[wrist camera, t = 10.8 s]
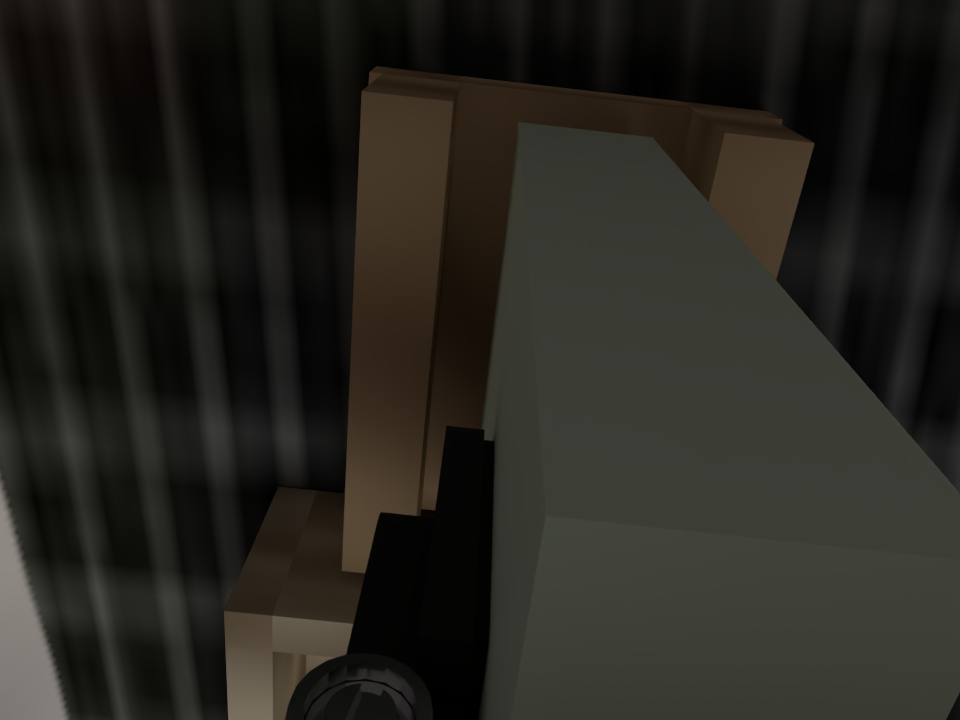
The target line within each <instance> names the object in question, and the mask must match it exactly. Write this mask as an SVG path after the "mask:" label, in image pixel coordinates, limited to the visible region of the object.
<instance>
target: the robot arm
mask: <svg viewBox="0 0 960 720" xmlns="http://www.w3.org/2000/svg"><path fill="white" fill-rule="evenodd" d="M484 434H485V430H484V429H474V428H465V427H456V426H446V433H445V440H444V448H443V455H442V463H441V470H440V478H439V485H438V493H437V500H436V507H435V515H434V518H433V517H423V516H414V515H404V514H395V513H385V512H381V513H380V514H379V518H378V521H377V525H376V529H375V534H374V538H373V542H372V546H371V551H370V555H369V559H368V564H367V568H366V572H365V576H364V581H363V585H362V589H361V593H360V598H359V602H358V606H357V610H356V615H355V619H354V623H353V627H352V632H351V636H350V640H349V644H348V649H347V653H346V655H343V656H339V657H336V658H333V659H330V660H327V661H325V662H324V663H322V664H320V665H319V666H317V667H315V668H314V669H312V670H311V671H309V672H308V673H307V674H306V676H305V677H304V678H303V679H302V680H301V681H300V682H299V683H298V684H297V686H296V687H295V690H294V692H293V694H292V697H291V699H290V701H289V704H288V708H287V712H286V717H285V720H478V716H479V709H480V702H481V696H482V689H483V682H484V676H485V669H486V661H487V652H488V642H489V628H490V596H491V560H492V524H493V488H494V451H495V441H490V440H484Z"/></svg>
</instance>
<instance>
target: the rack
mask: <svg viewBox="0 0 960 720" xmlns="http://www.w3.org/2000/svg"><path fill="white" fill-rule="evenodd" d="M344 506H345V493H336V492H326V491H316V490H307V489H297V488H288V487H278V489H277V491H276V493H275V496H274V498H273V500H272V502H271V505H270V507H269V509H268V512H267V514H266V516H265V518H264V521H263V523H262V525H261V528H260V530H259V532H258V534H257V537H256V539H255V541H254V544H253V546H252V548H251V551H250V553H249V555H248V557H247V560H246V562H245V564H244V567H243V569H242V571H241V573H240V576H239V578H238V580H237V583H236V585H235V587H234V589H233V592H232V594H231V596H230V599H229V601H228V603H227V605H226V608H225V610H224V621H225V646H226V671H227V696H228V720H285V717H286V712H287V708H288V704H289V701H290V699H291V697H292V694H293V692H294V690H295V687H296V686H297V684H298V683H299V682H300V681H301V680H302V679H303V678H304V677H305V676H306V674H307V673H308V672H309V671H311V670H312V669H314V668H315V667H317V666H319V665H320V664H322V663H324V662H325V661H327V660H330V659H333V658H336V657H339V656H343V655H346V653H347V649H348V644H349V640H350V636H351V632H352V627H353V623H354V619H355V615H356V610H357V606H358V602H359V598H360V593H361V589H362V585H363V581H364V576H365V573H357V572H347V571H342V554H343V530H344ZM434 515H435V510H426V509H421V515H420V516H423V517H433V518H434Z"/></svg>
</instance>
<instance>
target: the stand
mask: <svg viewBox="0 0 960 720" xmlns="http://www.w3.org/2000/svg"><path fill="white" fill-rule="evenodd" d="M782 121H783V119H781V118H779V117H777V116H775V115H773V114H771V113H770V112H768V111H759V110H750V109H742V108H733V107H724V106H716V105H707V104H699V103H690V102H681V101H673V100H664V99H655V98H647V97H638V96H629V95H621V94H612V93H603V92H595V91H586V90H577V89H569V88H560V87H551V86H543V85H534V84H525V83H517V82H508V81H499V80H491V79H482V78H473V77H465V76H456V75H447V74H439V73H430V72H421V71H413V70H404V69H395V68H387V67H378V66H377V67H375V68H374V69H373V70H371V71H370V72H369V85H368V86H367V87H366V88H365V89H364V90H362V95H361V119H360V143H359V168H358V192H357V216H356V240H355V264H354V288H353V313H352V337H351V361H350V385H349V409H348V434H347V458H346V482H345V506H344V530H343V554H342V571H347V572H357V573H365V572H366V568H367V564H368V559H369V555H370V551H371V546H372V542H373V538H374V534H375V529H376V525H377V521H378V518H379V514H380V513H381V512H385V513H395V514H404V515H414V516H420V515H421V509H426V510H435V507H436V500H437V493H438V485H439V478H440V470H441V463H442V455H443V448H444V440H445V433H446V426H456V427H465V428H474V429H480V427H481V419H482V411H483V403H484V395H485V387H486V379H487V371H488V363H489V355H490V347H491V339H492V331H493V322H494V314H495V306H496V298H497V290H498V282H499V274H500V266H501V258H502V250H503V242H504V234H505V226H506V217H507V209H508V201H509V193H510V185H511V177H512V169H513V161H514V153H515V145H516V137H517V129H518V122H523V123H532V124H540V125H549V126H558V127H566V128H575V129H584V130H592V131H601V132H610V133H619V134H627V135H636V136H645V137H653V139H654V140H655V141H656V142H657V143H658V144H659V146H660V147H661V148H662V149H663V150H664V151H665V152H666V154H667V155H668V156H669V157H670V158H671V159H672V161H673V162H674V163H675V164H676V165H677V166H678V168H679V169H680V170H681V171H682V172H683V173H684V174H685V176H686V177H687V178H688V179H689V180H690V181H691V183H692V184H693V185H694V186H695V187H696V188H697V190H698V191H699V192H700V193H701V194H702V195H703V196H704V198H705V199H706V200H707V201H708V202H709V203H710V205H711V206H712V207H713V208H714V209H715V210H716V212H717V213H718V214H719V215H720V216H721V217H722V218H723V220H724V221H725V222H726V223H727V224H728V225H729V227H730V228H731V229H732V230H733V231H734V232H735V234H736V235H737V236H738V237H739V238H740V239H741V240H742V242H743V243H744V244H745V245H746V246H747V247H748V249H749V250H750V251H751V252H752V253H753V254H754V256H755V257H756V258H757V259H758V260H759V261H760V263H761V264H762V265H763V266H764V267H765V268H766V269H767V271H768V272H769V273H770V274H771V275H772V276H773V278H774V279H775V280H776V279H777V275H778V271H779V268H780V264H781V261H782V257H783V254H784V250H785V247H786V243H787V239H788V236H789V232H790V229H791V225H792V222H793V218H794V215H795V211H796V207H797V204H798V200H799V197H800V193H801V190H802V186H803V183H804V179H805V176H806V172H807V168H808V165H809V161H810V158H811V154H812V151H813V147H814V144H815V143H813V142H812V141H810V140H808V139H806V138H805V137H803V136H801V135H799V134H797V133H796V132H794V131H792V130H790V129H788V128H787V127H785V126H783V125H782Z"/></svg>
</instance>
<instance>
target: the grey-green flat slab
mask: <svg viewBox="0 0 960 720" xmlns="http://www.w3.org/2000/svg"><path fill="white" fill-rule="evenodd" d="M480 429H484V430H485V434H484V440H490V441H495V451H494V488H493V524H492V560H491V596H490V628H489V642H488V652H487V661H486V669H485V676H484V682H483V689H482V696H481V702H480V709H479V716H478V720H946V718H947V716H948V714H949V712H950V710H951V708H952V706H953V704H954V702H955V700H956V698H957V696H958V694H959V693H960V493H959V492H958V491H957V489H956V488H955V487H954V486H953V485H952V484H951V483H950V481H949V480H948V479H947V478H946V477H945V476H944V474H943V473H942V472H941V471H940V470H939V469H938V467H937V466H936V465H935V464H934V463H933V462H932V461H931V459H930V458H929V457H928V456H927V455H926V454H925V452H924V451H923V450H922V449H921V448H920V447H919V445H918V444H917V443H916V442H915V441H914V440H913V439H912V437H911V436H910V435H909V434H908V433H907V432H906V430H905V429H904V428H903V427H902V426H901V425H900V423H899V422H898V421H897V420H896V419H895V418H894V417H893V415H892V414H891V413H890V412H889V411H888V410H887V408H886V407H885V406H884V405H883V404H882V403H881V401H880V400H879V399H878V398H877V397H876V396H875V395H874V393H873V392H872V391H871V390H870V389H869V388H868V386H867V385H866V384H865V383H864V382H863V381H862V379H861V378H860V377H859V376H858V375H857V374H856V373H855V371H854V370H853V369H852V368H851V367H850V366H849V364H848V363H847V362H846V361H845V360H844V359H843V357H842V356H841V355H840V354H839V353H838V352H837V351H836V349H835V348H834V347H833V346H832V345H831V344H830V342H829V341H828V340H827V339H826V338H825V337H824V335H823V334H822V333H821V332H820V331H819V330H818V329H817V327H816V326H815V325H814V324H813V323H812V322H811V320H810V319H809V318H808V317H807V316H806V315H805V313H804V312H803V311H802V310H801V309H800V308H799V307H798V305H797V304H796V303H795V302H794V301H793V300H792V298H791V297H790V296H789V295H788V294H787V293H786V291H785V290H784V289H783V288H782V287H781V286H780V285H779V283H778V282H777V281H776V280H775V279H774V278H773V276H772V275H771V274H770V273H769V272H768V271H767V269H766V268H765V267H764V266H763V265H762V264H761V263H760V261H759V260H758V259H757V258H756V257H755V256H754V254H753V253H752V252H751V251H750V250H749V249H748V247H747V246H746V245H745V244H744V243H743V242H742V240H741V239H740V238H739V237H738V236H737V235H736V234H735V232H734V231H733V230H732V229H731V228H730V227H729V225H728V224H727V223H726V222H725V221H724V220H723V218H722V217H721V216H720V215H719V214H718V213H717V212H716V210H715V209H714V208H713V207H712V206H711V205H710V203H709V202H708V201H707V200H706V199H705V198H704V196H703V195H702V194H701V193H700V192H699V191H698V190H697V188H696V187H695V186H694V185H693V184H692V183H691V181H690V180H689V179H688V178H687V177H686V176H685V174H684V173H683V172H682V171H681V170H680V169H679V168H678V166H677V165H676V164H675V163H674V162H673V161H672V159H671V158H670V157H669V156H668V155H667V154H666V152H665V151H664V150H663V149H662V148H661V147H660V146H659V144H658V143H657V142H656V141H655V140H654V139H653V137H645V136H636V135H627V134H619V133H610V132H601V131H592V130H584V129H575V128H566V127H558V126H549V125H540V124H532V123H523V122H518V129H517V137H516V145H515V153H514V161H513V169H512V177H511V185H510V193H509V201H508V209H507V217H506V226H505V234H504V242H503V250H502V258H501V266H500V274H499V282H498V290H497V298H496V306H495V314H494V322H493V331H492V339H491V347H490V355H489V363H488V371H487V379H486V387H485V395H484V403H483V411H482V419H481V427H480Z"/></svg>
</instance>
